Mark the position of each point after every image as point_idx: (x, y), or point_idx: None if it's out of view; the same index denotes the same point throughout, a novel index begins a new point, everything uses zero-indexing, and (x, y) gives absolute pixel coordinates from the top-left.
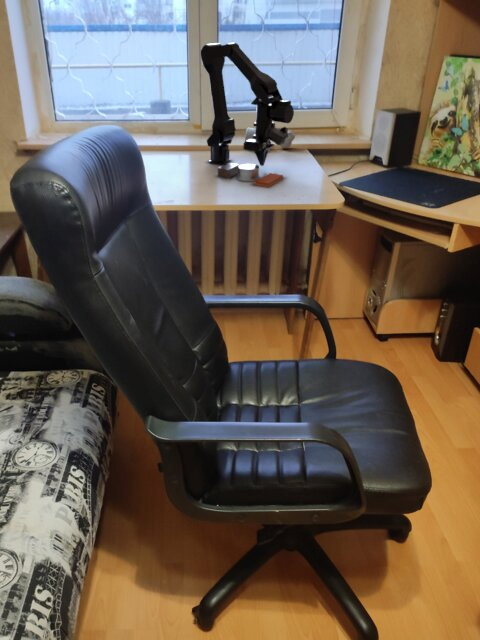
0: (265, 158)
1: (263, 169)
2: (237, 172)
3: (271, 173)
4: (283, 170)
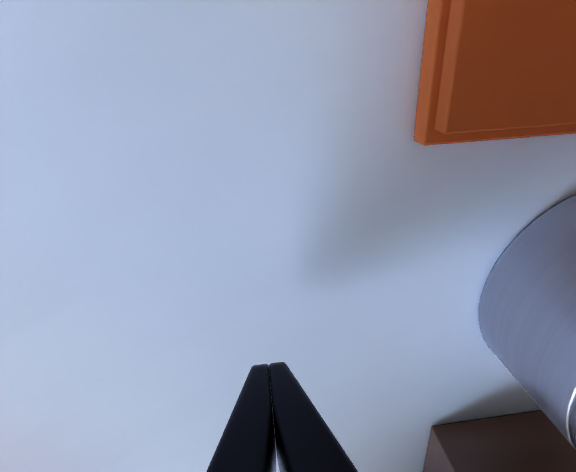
0: (243, 446)
1: (201, 339)
2: (476, 431)
3: (465, 101)
4: (32, 101)
